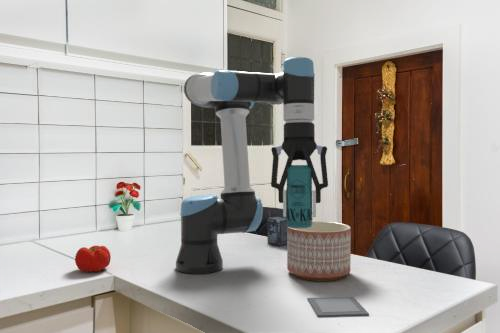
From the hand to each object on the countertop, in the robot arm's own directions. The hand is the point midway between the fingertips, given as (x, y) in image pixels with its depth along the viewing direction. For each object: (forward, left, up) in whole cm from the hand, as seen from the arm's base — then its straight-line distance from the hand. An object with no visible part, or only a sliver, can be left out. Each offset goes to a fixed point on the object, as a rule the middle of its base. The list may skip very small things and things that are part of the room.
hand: (299, 216), depth 110 cm
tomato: (-65, +25, -22) cm, 73 cm away
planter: (+6, +28, -22) cm, 36 cm away
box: (-8, +70, -22) cm, 74 cm away
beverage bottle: (0, 0, -4) cm, 4 cm away
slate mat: (+9, -1, -22) cm, 24 cm away
